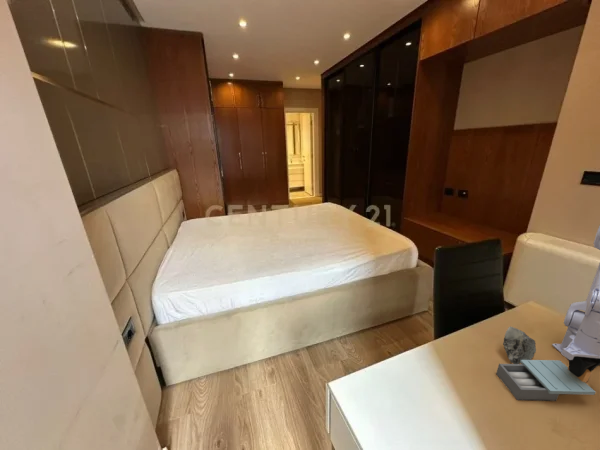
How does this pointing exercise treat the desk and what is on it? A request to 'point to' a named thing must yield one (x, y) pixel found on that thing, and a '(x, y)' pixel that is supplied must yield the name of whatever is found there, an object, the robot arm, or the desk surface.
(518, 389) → the tub
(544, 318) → the desk surface
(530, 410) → the desk surface
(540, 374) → the lid
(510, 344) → the stone
